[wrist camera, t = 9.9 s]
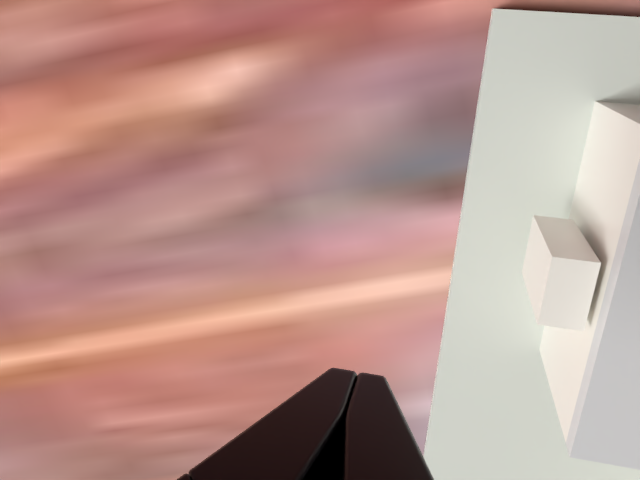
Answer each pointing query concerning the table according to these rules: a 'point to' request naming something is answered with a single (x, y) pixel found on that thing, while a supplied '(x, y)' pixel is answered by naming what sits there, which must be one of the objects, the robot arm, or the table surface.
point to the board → (519, 242)
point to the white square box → (594, 294)
